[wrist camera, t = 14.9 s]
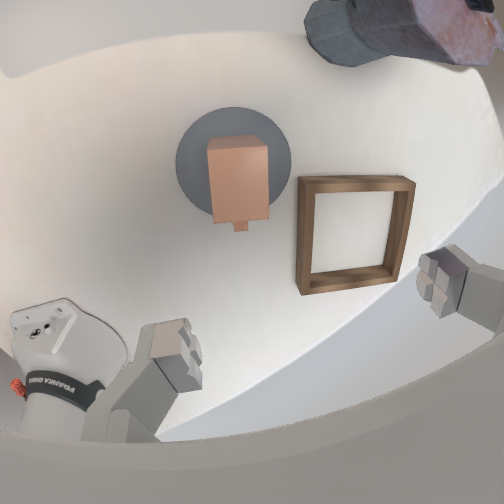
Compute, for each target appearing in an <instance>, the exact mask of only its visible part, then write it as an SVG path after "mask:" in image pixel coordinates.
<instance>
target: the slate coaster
mask: <svg viewBox="0 0 504 504" xmlns="http://www.w3.org/2000/svg"><path fill="white" fill-rule="evenodd" d="M253 134H254V135H255V136H257V137H258V138H259V139H260V140H261V141H262V142H263V143H265V144H266V145H267V149H268V187H269V205H270V204H272V203H273V202H274V201H275V200H276V199H277V198H278V196H279V195H280V194H281V192H282V191H283V189H284V188H285V185H286V183H287V181H288V178H289V175H290V170H291V153H290V148H289V145H288V142H287V140H286V138H285V136H284V134H283V133H282V131H281V130H280V128H279V127H278V126H277V125H276V124H275V123H274V122H273V121H272V120H270V119H269V118H268V117H266V116H264V115H263V114H261V113H259V112H256V111H254V110H250V109H246V108H239V107H229V108H222V109H218V110H215V111H212V112H210V113H208V114H206V115H204V116H203V117H201V118H200V119H198V120H197V121H196V122H195V123H194V124H193V125H192V126H191V127H190V128H189V129H188V130H187V132H186V133H185V134H184V136H183V138H182V140H181V142H180V144H179V147H178V151H177V155H176V173H177V178H178V181H179V184H180V186H181V188H182V190H183V192H184V193H185V194H186V196H187V197H188V198H189V199H190V201H191V202H192V203H194V204H195V205H196V206H197V207H198V208H200V209H202V210H203V211H205V212H207V213H209V214H212V215H213V210H212V200H211V189H210V179H209V167H208V156H207V148H208V143H209V138H211V137H223V136H236V135H253Z"/></svg>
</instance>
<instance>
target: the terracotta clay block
mask: <svg viewBox="0 0 504 504" xmlns="http://www.w3.org/2000/svg"><path fill="white" fill-rule="evenodd" d="M207 156H208V167H209V179H210V189H211V200H212V210H213V220H214V224H216V223H227V222H233V225H234V232H237V231H248V221H249V220H261V219H269V187H268V149H267V145H266V144H265V143H263V142H262V141H261V140H260V139H259V138H258V137H257V136H255V135H254V134H253V135H236V136H223V137H211V138H209V143H208V148H207Z"/></svg>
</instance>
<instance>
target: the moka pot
mask: <svg viewBox="0 0 504 504" xmlns="http://www.w3.org/2000/svg"><path fill="white" fill-rule="evenodd" d="M493 12H494V5H493V1H492V0H319V1H316V2H314V3H313V4H312V6H311V7H310V9H309V11H308V13H307V15H306V17H305V20H304V25H305V29H306V33H307V36H308V39H309V41H310V42H311V44H312V46H313V47H314V48H315V49H316V50H317V51H318V52H319V53H320V54H321V55H322V56H323V57H324V58H326V59H327V60H328V61H329V62H331V63H334V64H338V65H343V66H348V67H356V66H359V65H361V64H364V63H367V62H370V61H373V60H377V59H380V58H383V57H386V56H389V55H394V56H401V57H409V58H418V59H424V60H430V61H436V62H442V63H447V64H452V65H471V66H488V64H489V61H490V59H491V56H492V53H493V51H494V49H495V48H497V49H500V50H504V46H503V41H504V34H503V31H502V29H501V27H500V26H499V24H498V22H497V21H496V19H495V18H494V16H493Z"/></svg>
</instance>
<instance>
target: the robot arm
mask: <svg viewBox="0 0 504 504" xmlns="http://www.w3.org/2000/svg"><path fill="white" fill-rule="evenodd" d="M418 266H419V267H420V269H421V270H420V271H419V273H418V274H417V280H416V285H417V290H418V292H419V294H420V296H421V297H422V298H423V299H424V300H426V301H429V302H430V308H431V309H432V310H433V311H434V312H435V313H436V315H437V316H438V317H439V319H440V318H443V317H445V316H447V315H450V314H452V313H454V312H457V313H459V314H461V315H463V316H465V317H467V318H469V319H470V320H472V321H474V322H476V323H478V324H480V325H482V326H483V327H485V328H487V329H489V330H491V331H493V332H494V333H495V334H494V336H493V338H492V340H490V341H488V342H487V343H485V344H483V345H482V346H480V347H478V348H477V349H475V350H473V351H472V352H470V353H468V354H466V355H465V356H463V357H461V358H459V359H458V360H456V361H454V362H452V363H450V364H448V365H446V366H444V367H443V368H440V369H439V370H437V371H435V372H432V373H430V374H428V375H426V376H424V377H422V378H420V379H418V380H416V381H414V382H411V383H409V384H407V385H404V386H402V387H400V388H397V389H395V390H393V391H390V392H388V393H386V394H383V395H380V396H378V397H375V398H372V399H370V400H367V401H364V402H362V403H359V404H356V405H353V406H350V407H347V408H344V409H341V410H338V411H334V412H331V413H328V414H325V415H321V416H318V417H314V418H310V419H307V420H303V421H299V422H295V423H292V424H287V425H283V426H278V427H274V428H269V429H264V430H259V431H254V432H248V433H243V434H236V435H230V436H223V437H216V438H208V439H199V440H189V441H175V442H161V441H160V440H159V439H158V438H156V437H155V436H154V434H155V433H156V431H157V429H158V428H159V426H160V424H161V423H162V421H163V419H164V418H165V416H166V414H167V413H168V411H169V409H170V408H171V406H172V404H173V403H174V401H175V399H176V398H177V396H178V394H177V393H183V392H189V391H195V390H201V389H202V372H201V370H200V368H199V366H200V365H201V363H202V353H201V348H200V345H199V342H198V339H197V337H196V336H195V335H193V334H192V333H191V325H190V323H189V321H188V319H186V318H181V319H176V320H170V321H165V322H159V323H155V324H149V325H144V326H143V327H142V328H141V332H140V336H139V340H138V344H137V349H136V353H135V358H134V362H130V363H129V364H128V365H127V366H126V367H125V368H124V369H123V370H122V371H121V373H120V374H119V375H118V373H119V372H120V370H121V369H122V367H123V366H124V364H125V363H126V360H127V351H126V347H125V345H124V343H123V341H122V340H121V338H120V337H119V336H118V335H117V334H116V333H115V332H114V331H113V330H112V329H111V328H110V327H109V326H107V325H106V324H105V323H103V322H102V321H100V320H98V319H96V318H95V317H92V316H90V315H88V314H86V313H84V312H82V311H81V310H80V309H79V308H78V307H77V306H75V305H74V304H73V303H72V302H70V301H69V300H67V299H60V300H57V301H53V302H50V303H46V304H43V305H39V306H35V307H32V308H28V309H25V310H21V311H18V312H14V313H12V315H11V317H10V323H11V327H12V330H13V332H14V335H15V336H14V339H13V342H12V353H13V356H14V358H15V360H16V362H17V364H18V366H19V367H20V369H21V371H22V373H23V374H24V376H25V378H26V387H25V386H24V385H23V384H22V382H21V381H20V380H19V379H18V378H16V379H14V380H12V382H11V384H10V386H11V388H12V389H13V390H14V391H15V392H16V394H17V395H18V396H23V397H24V398H25V401H26V404H25V406H24V409H23V412H22V415H21V418H20V421H19V424H18V427H17V430H16V431H11V430H1V431H0V504H504V270H500V269H498V268H494V267H491V266H488V265H485V264H481V265H479V264H478V263H477V262H476V261H475V260H474V259H472V258H471V257H470V256H469V255H467V254H466V253H465V252H464V251H463V250H461V249H460V248H459V247H458V246H456V245H454V244H450V245H447V246H444V247H442V248H440V249H437V250H434V251H431V252H428V253H425V254H422V255H421V256H420V258H419V263H418ZM60 308H61V309H60ZM117 375H118V376H117Z"/></svg>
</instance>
